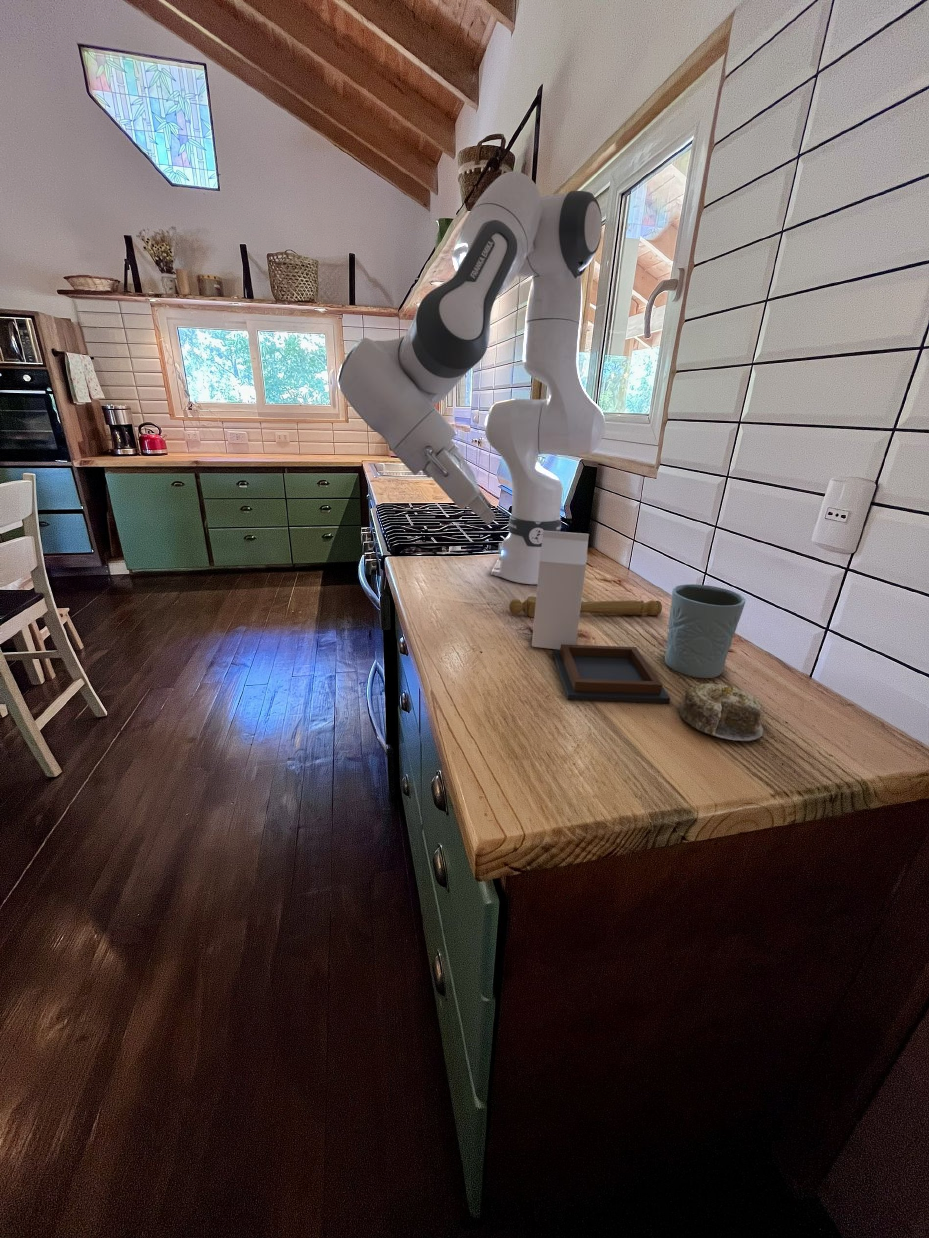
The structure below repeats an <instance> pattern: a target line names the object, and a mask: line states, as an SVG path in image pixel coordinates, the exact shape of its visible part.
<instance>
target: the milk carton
mask: <svg viewBox="0 0 929 1238" xmlns="http://www.w3.org/2000/svg"><path fill="white" fill-rule="evenodd" d="M589 536H590V534H589V533H582V532H569V531H560V532H557V531H543V539H542V546H541V554H540V563H539V573H538V584H536V596H535V597H536V605H535V616H534V617H533V628H532V640H531V647H533V648H541V649H542V648H543V649H550V650H560V649H561V644H564V645H577V638H578V630H579V623H580V615H581V613H580V608H581V602H582V599H583V591H584V584H585V578H586V577H585V576H586V569H587V559H588V547H589Z"/></svg>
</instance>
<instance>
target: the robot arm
mask: <svg viewBox="0 0 929 1238" xmlns="http://www.w3.org/2000/svg"><path fill="white" fill-rule="evenodd" d="M601 211H602V210H601V206H600V204H599V202H598V200H597V198H596V197H595V195H594V194H593V193H592V192H590V191H585V190H570V191H569V192H568V193H554V194H547V195H542V196H541V193H540V190H539V188H538V186H537V185H536V183H535V182H534V180H533V179H532V178H530V177H529V175H527V174H525V173H523V172H520V171H514V170H511V171H507V172H504V173H503V174H500V175H499V176H498V177H497V178H495V180H493V182H491V183H490V184H489V186H487V188H486V189H485V190H484V192H482V194H481V195H480V196H479V198H478V199H477V200H476V202H475V203H474V205H473V206H472V208H471V209H470V211H469V213H468V215H467V216H466V217H465V220H464V222H463V224H462V225H461V228H460V231H459V233H458V235H457V238H456V240H455V244H454V246H453V247H454V248H453V251H452V264H453V266H454V267H453V268H454V270H455V273H454V274H453V276H452V278H450V280H447V282H444V283H443V284H441V285H439V286H437V287H435V288H434V289H432V290H431V291H429V292H428V293H427V294H426V295H425V296H424V297H423V298H422V299H421V301H420V303H419V305H418V308H417V309H416V312H415V315H414V317H413V320H412V322H411V324H410V326H409V328H408V330H407V332H406V333H405V335H403V336H401V337H398V338H394V339H388V340H373V339H371V338H368V337H363V338H361V339H359V340H358V341H357V342H355V343H354V345H353V346H352V347H351V349H350V350H349V351H348V353H347V355H345V358H344V360H343V362H341V365H340V367H339V371H338V374H337V386H338V388H339V390H340V392H341V394H342V395H343V397H344V398H345V399H346V401H347V403H348V404H349V405H350V406H351V408H352V409H353V410H354V412H356V414H357V415H358V416H359V417H360V418H361V419H362V420H363V422H364V423H365V424H366V425H367V426H368V427H369V428H370V429H371V430H372V431H374V432H375V433H377V434H378V435H380V436H381V437H382V438H383V439H384V440H385V442H386V444H387V445H388V447H389V449H390V451H391V452H392V453H393V455H395V456H396V457H397V458H398V459H399V461H401V463H403V464H404V466H405V467H407V469H408V470H409V471H410V472H411V474H413V475H414V476H417V474H419V473H420V472H422V473H423V474H424V475H425V476H426V477H427V478H432V480H433V481H434V482H435V483H436V484H437V485H438V487H439V488H440V489H441V490H442V491H443V492H444V493H445V495H446V496H447V497H448V498H449V499H450V501H452V502H453V504H455V506H457V507H458V508H460V510H464V509H465V508H466V507H468V509H470V510H471V511H472V512H473V513H474V514H475V515H477V516H478V517H479V519H481V521H483V522H484V523H485V524H486V525H490V524H491V523H492V522H494V520H496V514H495V513H494V511H493V510H492V503H491V502H490V500H488V498H487V497H486V496H485V495H484V493H483V492H482V490H481V489H480V487H479V485H478V484H479V483H478V481H477V477H476V475H475V473H474V472H473V470H472V468H471V467H470V465H469V464H468V462H467V461H466V460H465V459H464V457H463V456H462V454H461V453H460V452H459V449H460V448H459V446H458V445H457V444H456V443H455V441H454V440H453V439H454V438H455V437H456V436H457V434H458V432H457V430H456V429H455V428H453V426H452V425H451V423H450V422H448V420H447V419H446V418H445V417H444V416H443V414H442V413H441V412H440V411H439V410H438V409H437V408H436V407H435V405H436V404H438V403H440V402H441V401H443V400H444V399H445V398H446V397H447V396H448V395H449V394H450V393H451V392H452V391H453V389H454V388H455V387H456V386H457V385H458V384H459V382H460V381H461V380H462V379H463V378H464V376H465V375H466V374H467V373H469V371H470V370H471V369H473V368H474V366H476V365H477V364H478V363H479V362H480V361H481V360H482V359H483V357H484V356H485V354H486V352H487V349H488V346H489V342H490V333H491V316H492V309H493V306H494V303H495V302H496V299H497V297H499V296H501V295H502V294H503V293H504V292H505V291H506V290H507V288H508V287H509V286H510V285H511V284H512V283H513V281H514V280H515V279H516V278H517V277H531V279H532V280H531V283H530V288H529V293H528V298H527V304H526V311H525V322H524V337H523V347H522V350H523V351H522V365H523V368H524V370H525V371H526V374H528V375H529V376H531V378H533V379H535V380H536V381H538V382H540V383H541V384H543V385H545V386H546V387H547V390H548V398H545V399H540V398H539V399H538V398H537V399H534V398H512V399H507V400H502V401H501V400H500V401H497V402H495V403H494V404H493V405H492V406H490V408H489V410H488V411H487V413H486V416H485V419H484V426H483V427H484V434H485V438H486V440H487V442H488V443H489V445H490V446H491V448H492V449H494V450H495V451H496V452H497V453H498V454H499V455H500V456H501V458H502V459H503V461H504V462H505V465H506V466H507V469H508V471H509V475H510V478H511V487H512V488H511V490H512V491H511V493H512V494H511V495H512V497H511V500H512V501H511V514H510V516H509V518H508V519H509V520H508V534H507V536H506V537H504V538H503V540H502V541H501V542H499V543H498V547H497V548H498V550H497V552H498V553H500V555H499V556H498V558H497V559H496V561H495V563H494V565H493V567H492V569H491V571H490V572H491V573H490V575H492V576H495V577H500V578H503V579H505V580H508V581H509V582H514V583H518V584H526V585H537V584H538V573H539V563H540V554H541V546H542V539H543V531H557V532H561V529H562V518H561V509H562V499H563V491H564V489H563V488H564V487H563V484H562V481H561V480H560V479H559V477H557V475H555V474H553V473H552V472H551V471H549V470H548V469H545V468H544V467H543V466H542V465H541V463H540V461H539V455H553V456H554V455H555V456H578V455H585V454H591V453H592V452H594V451H595V450H596V449H597V448H598V447H599V446H600V445H601V442H602V441H603V439H604V436H605V433H606V419H605V418H606V417H605V415H604V413H603V411H602V409H601V408H600V406H599V405H598V404H597V403H596V402H595V401H593V400H592V398H591V397H590V396H589V394H588V393H587V391H586V390H585V388H584V386H583V384H582V380H581V376H580V372H579V343H580V333H581V324H582V313H583V312H582V310H583V283H582V276H583V274H584V273H585V271H586V269H587V266H589V264H591V262H592V260H593V259H594V257H595V255H596V253H597V251H598V249H599V246H600V244H601V238H602V229H603V221H602V220H603V219H602V218H603V217H602V212H601Z"/></svg>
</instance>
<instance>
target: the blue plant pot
mask: <svg viewBox="0 0 929 1238" xmlns="http://www.w3.org/2000/svg"><path fill="white" fill-rule="evenodd" d="M745 604H746V599H745V598H744V596H743V595H741V594H740V593H737V592H736V591H733V590H730V589H726V588H723V587H719V586H713V585H708V584H707V585H706V584H697V583H696V584H695V583H689V584H686V583H685V584H679V585H676V586H674V587H673V588H672V592H671V603H670V610H669V618H668V626H667V627H668V631H667V636H666V646H665V655H664V663H665V665H667V667H668V668H670V669H672V670H673V671H675V672H677V673H680V674H682V675H685V676H689V677H693V678H697V679H698V678H699V679H713V678H717V677H719V676H720V675H721V674H722V673H723V672H724V669H725V667H726V666H725V665H726V660H727V658H728V655H729V652H730V649H731V646H732V643H733V639H734V637H735V634H736V631H737V627H738V624H739V622H740V619H741V616H742V614H743V610H744V607H745Z"/></svg>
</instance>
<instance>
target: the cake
mask: <svg viewBox="0 0 929 1238" xmlns="http://www.w3.org/2000/svg"><path fill="white" fill-rule="evenodd" d="M678 713H679V715H680V717H681V718H682V720H684V721H685V722H686V723H687V724H689V725H690V726H691V727H692V728H695V729H696V730H697V731H700V732H702V733H704V734H707V735H710V736H713V737H717V738H719V739H724V740H729V741H736V742H737V741H739V742H740V741H741V742H750V741H754V740H755V741H756V740H758V739H760V738H761V737H763V734H764V728H763V724H762V721H763V717H764V711H763V704H761V701H760V700H759V699H758V698H757V697H756V696H754V695H751V694H750V693H749V692H745V691H743V690H740V689H738V688H736V687H733V686H728V685H725V684H720V683H719V684H718V683H716V684H715V683H714V684H713V683H700V684H695V685H694V686H691V687H690V686H689V687H687V688H686V689H685V691H684V703H682V704H681V705H680V706H679V708H678Z"/></svg>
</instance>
